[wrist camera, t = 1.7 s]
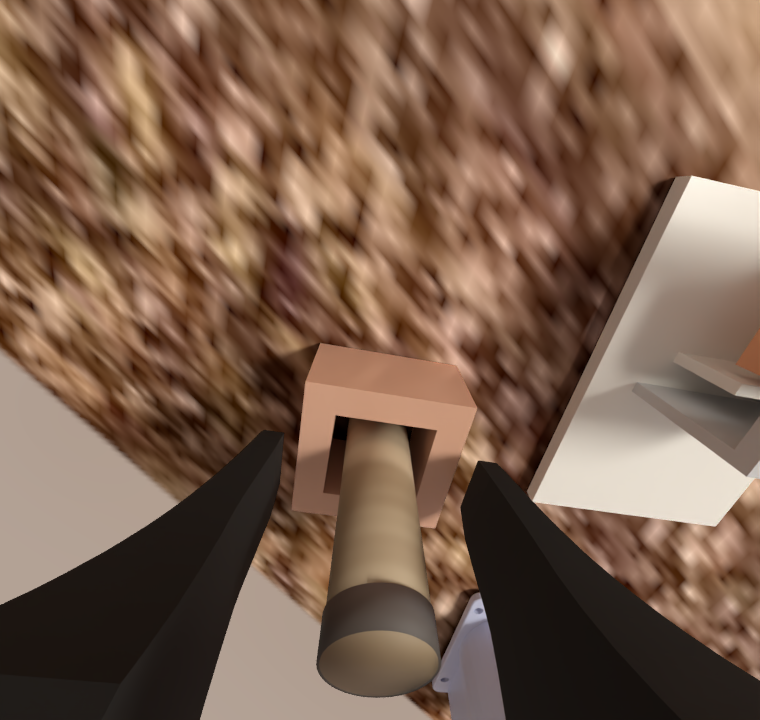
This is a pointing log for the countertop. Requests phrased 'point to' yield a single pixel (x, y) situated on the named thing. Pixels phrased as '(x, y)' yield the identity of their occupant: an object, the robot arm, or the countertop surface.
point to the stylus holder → (383, 404)
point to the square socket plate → (670, 372)
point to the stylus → (378, 573)
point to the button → (751, 355)
